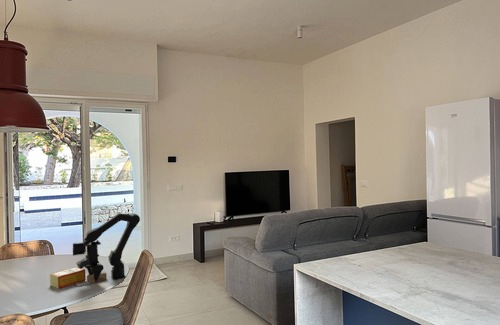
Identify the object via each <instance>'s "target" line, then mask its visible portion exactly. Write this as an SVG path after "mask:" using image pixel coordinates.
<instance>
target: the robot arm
mask: <svg viewBox="0 0 500 325" xmlns="http://www.w3.org/2000/svg"><path fill="white" fill-rule="evenodd" d="M120 221H121V222H126V226H125V228H124V229H125V230H124V231H123V233H122V235H121V237H120V239H119V241H118V243H117V245H116V248H115V249H114V250H110V253H109V255H108V263H109V264H110V266H112V267H111V270H110V274H111V278H112V279H113V280H119V279H125V278H126V274H125V264H124V262H123V260H122V255H123V251H124V249H125V247H126V246H127V243H128V241H129V238H130V237H131V234H132V232H133V231H134V229H135V228H136V227H137V226H138V224H140V223H139V222H140V221H141V217H140V216H139V215H138V214H137V213H131V214H129V213H121V212H118V213H116V214H115V215H114V216H113V217H110V219H109V220H107V221H106V222H104V223H102V225H100V226H98V227H96V228H92V229H90V230H89V231H87V232H86V234H85V238H84V239H83V241H82V242H74V243H72V256H79V255H80V256H81V255H85V253H86V255H85V257H84V258H82V259H80V260H78V261H76V267H78V268H80V269H84V268H85V269H86V270H87V273H88V275H91V274H93V275H94V280H95V282H94V283H96V282H97V281H98V278H99V276H100V274H101V272H103V270H104V265H103V264H101V263H100V260H99V257H100V254H99V250H98V246H99V245H102V243H101V242H100V241H99V240H98V239H99V238H100V237H101V236H102V235H103V234H104V233H105V232H106V231H108V230H109V229H110V228H112V227H113V226H115V225H116V224H118V223H119V222H120ZM98 282H99V281H98Z"/></svg>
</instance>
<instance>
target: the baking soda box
mask: <svg viewBox="0 0 500 325" xmlns="http://www.w3.org/2000/svg"><path fill="white" fill-rule="evenodd" d="M85 280H86V281H87V275H86V268H85V269H84V268H82V269H80V268H78V266H75V267H72V268H71V267H70V268H67V269H64V270H60V271H56V272H52V273H50V274H49V282H50V283H49V284H50V286H51V287H54V288H56V289H62V288H66V287H69V286H72V285H76V284H75V283H77V282H82V281H85Z"/></svg>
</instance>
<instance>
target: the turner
mask: <svg viewBox="0 0 500 325" xmlns="http://www.w3.org/2000/svg"><path fill="white" fill-rule="evenodd" d="M105 279H106V280H107V279H108V278H107V272H106V271H102V272H101V274H100V276H99V278H98V282H101V280H102V281H105ZM93 283H96V282H95V280H94V275H93V274H91V275H89V274H88V275H86V281H82V282H77V283H75V284H74V285H76V286H77V287H84V286H88V285H90V284H93Z"/></svg>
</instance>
